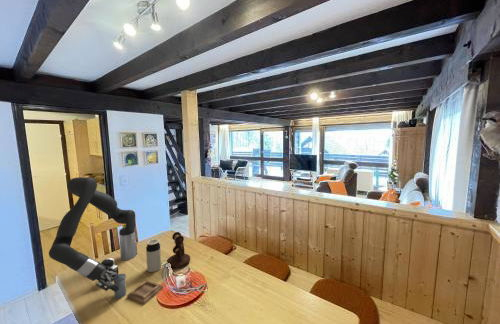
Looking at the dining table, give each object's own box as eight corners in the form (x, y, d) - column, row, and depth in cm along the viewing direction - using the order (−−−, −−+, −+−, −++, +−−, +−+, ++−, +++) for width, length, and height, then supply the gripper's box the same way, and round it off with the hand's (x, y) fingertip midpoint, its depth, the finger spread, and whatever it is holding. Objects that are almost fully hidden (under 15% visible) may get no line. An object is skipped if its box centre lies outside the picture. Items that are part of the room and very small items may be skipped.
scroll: (193, 264, 137) (192, 235, 135) (170, 272, 128) (168, 241, 127) (186, 254, 149) (185, 227, 147) (164, 261, 141) (163, 232, 139)
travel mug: (163, 266, 134) (162, 239, 132) (153, 273, 127) (152, 245, 125) (154, 263, 137) (153, 237, 136) (144, 270, 130) (142, 242, 129)
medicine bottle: (108, 284, 117) (107, 264, 116) (98, 283, 119) (96, 262, 118) (118, 276, 124) (117, 257, 123) (108, 275, 126) (107, 256, 125)
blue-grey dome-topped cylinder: (121, 290, 113) (120, 272, 112) (129, 292, 111) (128, 275, 110) (111, 297, 108) (110, 278, 107) (119, 300, 106) (118, 281, 105)
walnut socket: (146, 283, 118) (146, 278, 118) (163, 288, 114) (162, 283, 114) (127, 297, 107) (127, 292, 107) (144, 304, 103) (144, 299, 103)
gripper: (93, 270, 97) (122, 287, 103) (101, 255, 110) (127, 270, 116) (79, 284, 96) (110, 300, 101) (89, 267, 109) (116, 282, 114)
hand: (119, 284), depth 109 cm, fingers open, 8 cm apart
